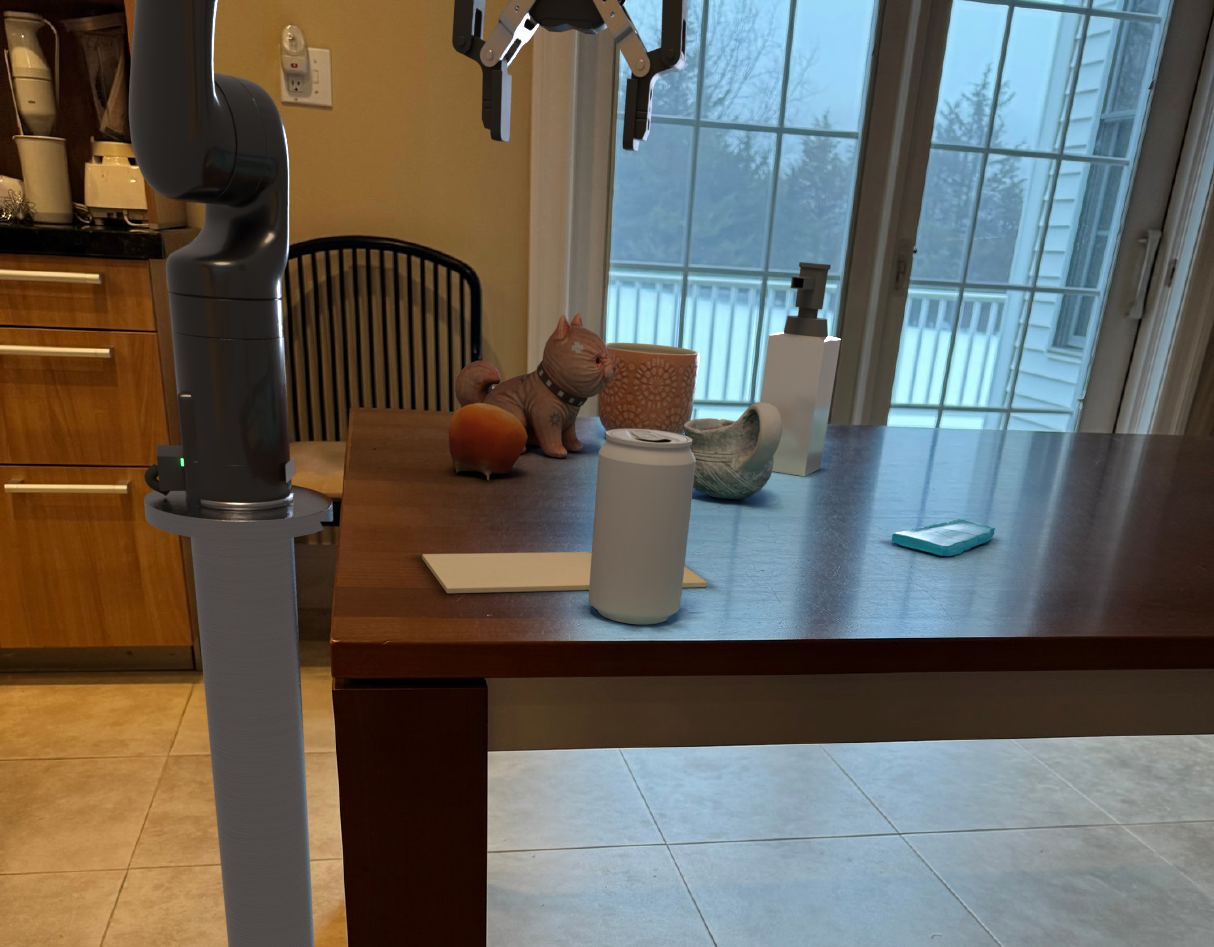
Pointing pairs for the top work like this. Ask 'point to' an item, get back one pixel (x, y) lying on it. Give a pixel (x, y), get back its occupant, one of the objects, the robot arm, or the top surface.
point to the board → (520, 572)
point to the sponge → (945, 537)
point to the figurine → (546, 386)
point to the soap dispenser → (802, 376)
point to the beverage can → (641, 524)
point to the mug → (735, 451)
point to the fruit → (485, 439)
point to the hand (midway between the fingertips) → (564, 145)
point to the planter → (649, 387)
